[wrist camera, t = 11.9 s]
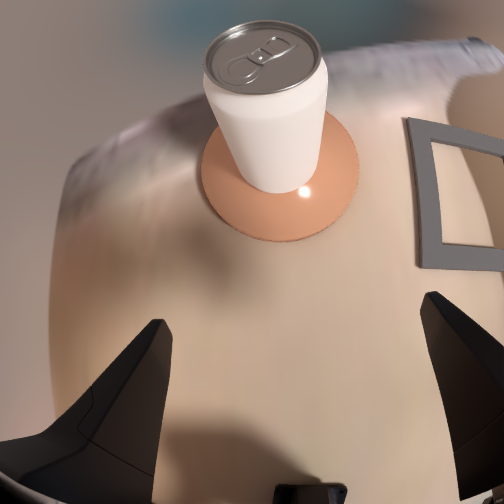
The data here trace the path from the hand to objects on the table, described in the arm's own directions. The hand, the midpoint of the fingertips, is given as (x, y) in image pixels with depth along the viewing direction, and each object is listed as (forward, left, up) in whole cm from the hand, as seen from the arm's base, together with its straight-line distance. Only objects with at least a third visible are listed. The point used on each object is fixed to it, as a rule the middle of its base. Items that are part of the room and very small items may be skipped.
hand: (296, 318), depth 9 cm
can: (+12, +2, -12) cm, 17 cm away
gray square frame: (+10, -17, -13) cm, 24 cm away
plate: (+11, +2, -13) cm, 18 cm away
